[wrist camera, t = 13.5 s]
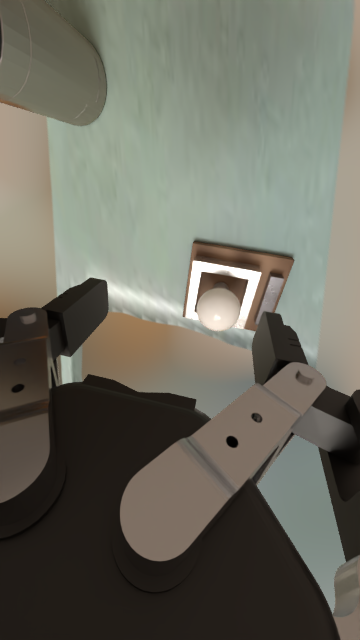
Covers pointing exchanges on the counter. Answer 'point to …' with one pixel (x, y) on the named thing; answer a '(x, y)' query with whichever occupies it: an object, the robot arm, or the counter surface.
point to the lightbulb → (218, 308)
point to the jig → (237, 279)
